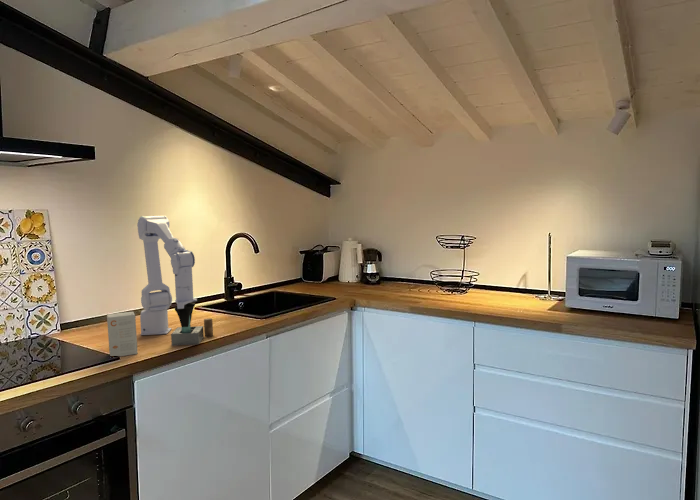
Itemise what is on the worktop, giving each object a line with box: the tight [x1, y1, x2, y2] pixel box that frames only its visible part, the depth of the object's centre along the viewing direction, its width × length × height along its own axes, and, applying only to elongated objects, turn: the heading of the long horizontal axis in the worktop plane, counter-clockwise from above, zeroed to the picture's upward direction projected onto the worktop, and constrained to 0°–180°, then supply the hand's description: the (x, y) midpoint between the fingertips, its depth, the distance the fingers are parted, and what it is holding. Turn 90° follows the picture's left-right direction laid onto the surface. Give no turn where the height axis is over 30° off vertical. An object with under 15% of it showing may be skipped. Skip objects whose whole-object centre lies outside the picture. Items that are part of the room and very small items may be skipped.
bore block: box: [170, 325, 205, 347], centre depth 176 cm, size 9×10×4 cm
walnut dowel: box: [203, 317, 214, 337], centre depth 183 cm, size 3×3×6 cm
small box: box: [106, 311, 139, 357], centre depth 161 cm, size 8×6×13 cm
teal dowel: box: [180, 317, 192, 333], centre depth 173 cm, size 3×3×8 cm
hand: (186, 325), depth 173 cm, fingers closed on teal dowel, 3 cm apart
